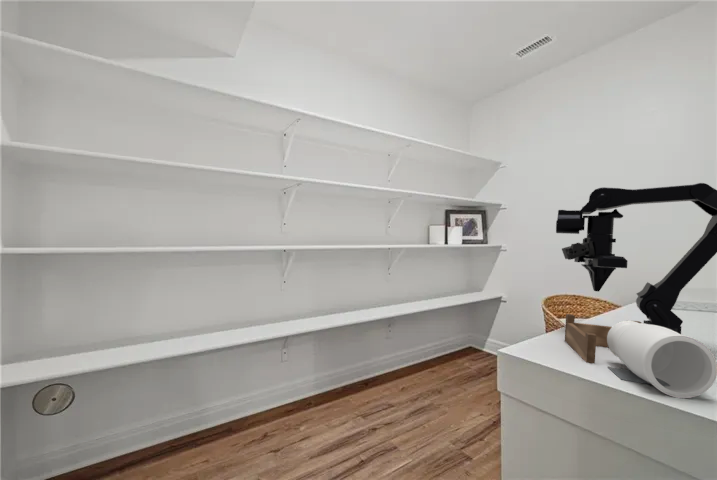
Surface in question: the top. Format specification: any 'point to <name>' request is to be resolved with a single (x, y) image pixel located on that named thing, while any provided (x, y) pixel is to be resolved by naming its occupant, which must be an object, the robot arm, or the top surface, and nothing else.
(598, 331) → the low open wooden frame
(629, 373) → the plate
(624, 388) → the top surface
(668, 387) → the jar
